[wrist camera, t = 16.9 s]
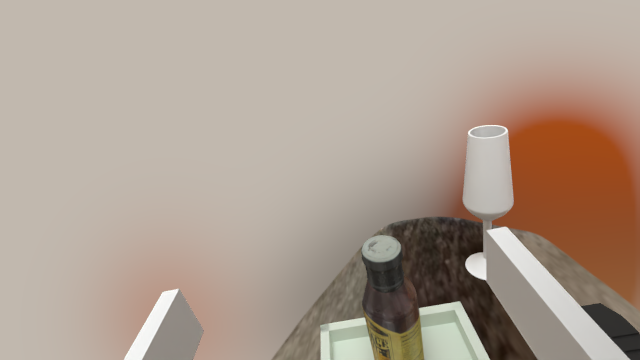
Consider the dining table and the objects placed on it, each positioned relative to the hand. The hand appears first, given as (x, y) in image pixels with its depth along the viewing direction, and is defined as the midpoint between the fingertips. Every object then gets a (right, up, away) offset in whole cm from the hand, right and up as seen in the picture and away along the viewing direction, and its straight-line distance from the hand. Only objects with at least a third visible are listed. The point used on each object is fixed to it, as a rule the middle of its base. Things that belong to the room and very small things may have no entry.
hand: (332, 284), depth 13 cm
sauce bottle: (+10, -20, +27) cm, 35 cm away
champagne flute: (+28, -10, +39) cm, 49 cm away
